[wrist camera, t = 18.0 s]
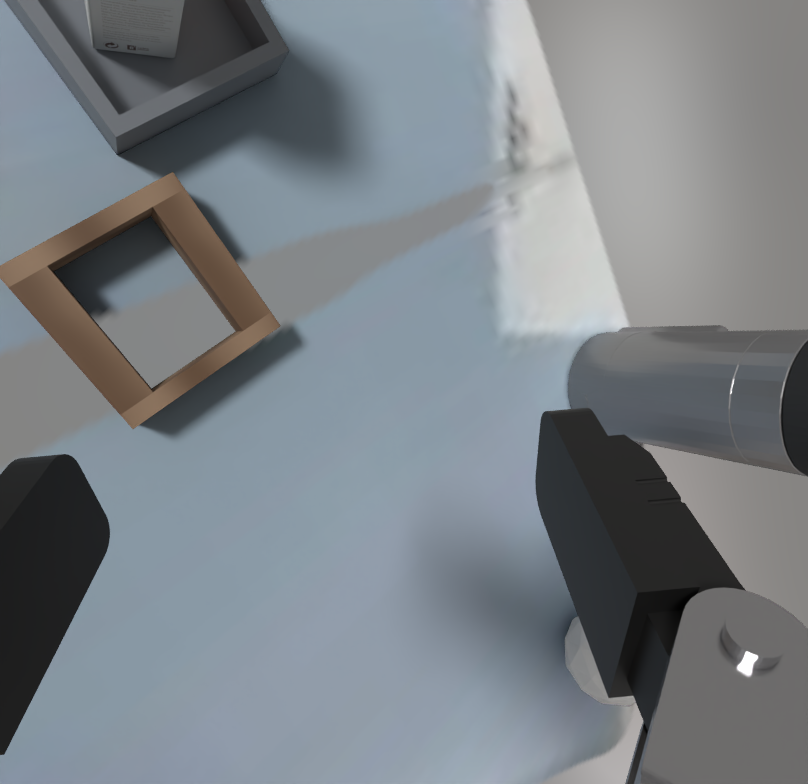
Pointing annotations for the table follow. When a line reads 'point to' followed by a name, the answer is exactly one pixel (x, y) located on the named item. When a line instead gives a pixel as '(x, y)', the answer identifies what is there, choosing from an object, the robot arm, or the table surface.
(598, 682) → the geometric ball
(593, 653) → the robot arm
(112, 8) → the skincare box
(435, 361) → the table surface
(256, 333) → the socket block
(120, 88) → the tray
